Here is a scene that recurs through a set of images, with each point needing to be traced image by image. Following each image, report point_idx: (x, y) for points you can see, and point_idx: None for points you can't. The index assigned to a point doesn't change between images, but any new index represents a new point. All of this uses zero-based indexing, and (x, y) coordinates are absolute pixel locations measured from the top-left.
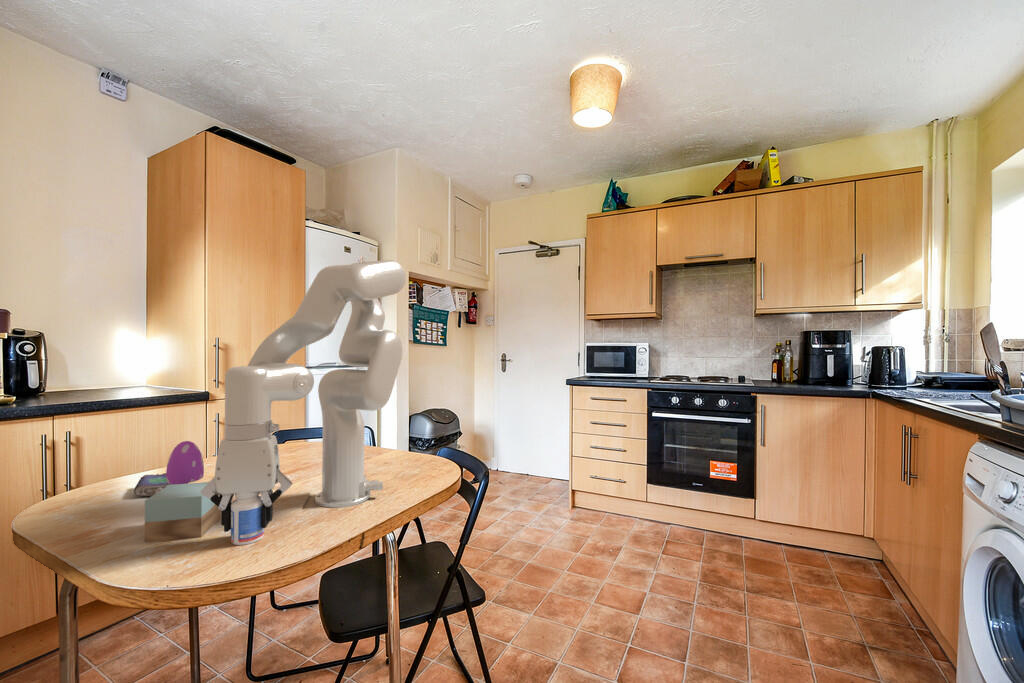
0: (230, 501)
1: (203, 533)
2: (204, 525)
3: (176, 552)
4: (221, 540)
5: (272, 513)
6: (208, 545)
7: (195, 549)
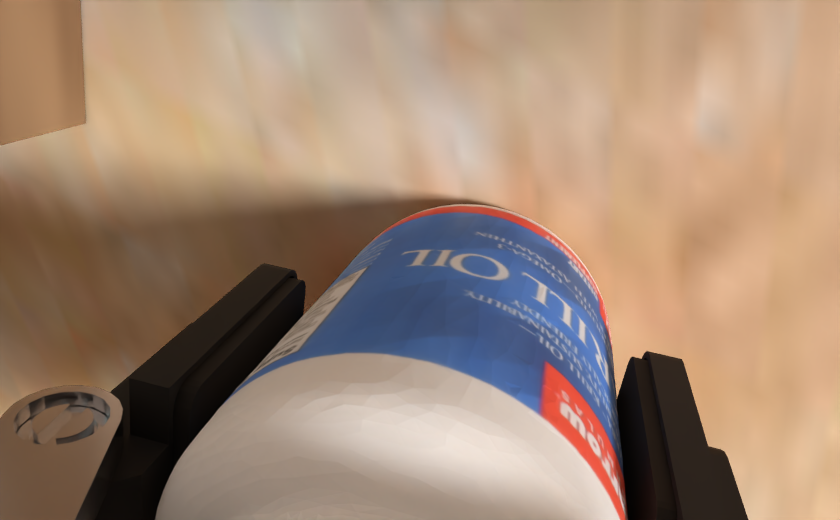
0: (104, 484)
1: (65, 72)
2: (10, 56)
3: (21, 313)
4: (262, 242)
5: (731, 489)
6: (192, 296)
7: (126, 324)
